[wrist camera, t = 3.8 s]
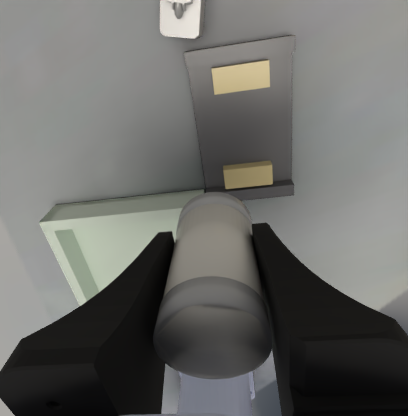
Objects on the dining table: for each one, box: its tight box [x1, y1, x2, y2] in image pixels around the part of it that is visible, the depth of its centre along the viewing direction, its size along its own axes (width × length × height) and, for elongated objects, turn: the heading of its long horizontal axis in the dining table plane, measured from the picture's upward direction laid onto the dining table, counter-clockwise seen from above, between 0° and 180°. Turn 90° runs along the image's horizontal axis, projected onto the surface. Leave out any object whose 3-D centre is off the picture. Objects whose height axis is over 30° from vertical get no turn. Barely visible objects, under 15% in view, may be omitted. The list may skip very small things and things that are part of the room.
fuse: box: [153, 192, 273, 379], centre depth 12 cm, size 4×4×6 cm
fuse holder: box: [184, 35, 295, 201], centre depth 19 cm, size 10×6×1 cm, turn 8°
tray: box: [39, 189, 204, 306], centre depth 24 cm, size 12×12×2 cm
